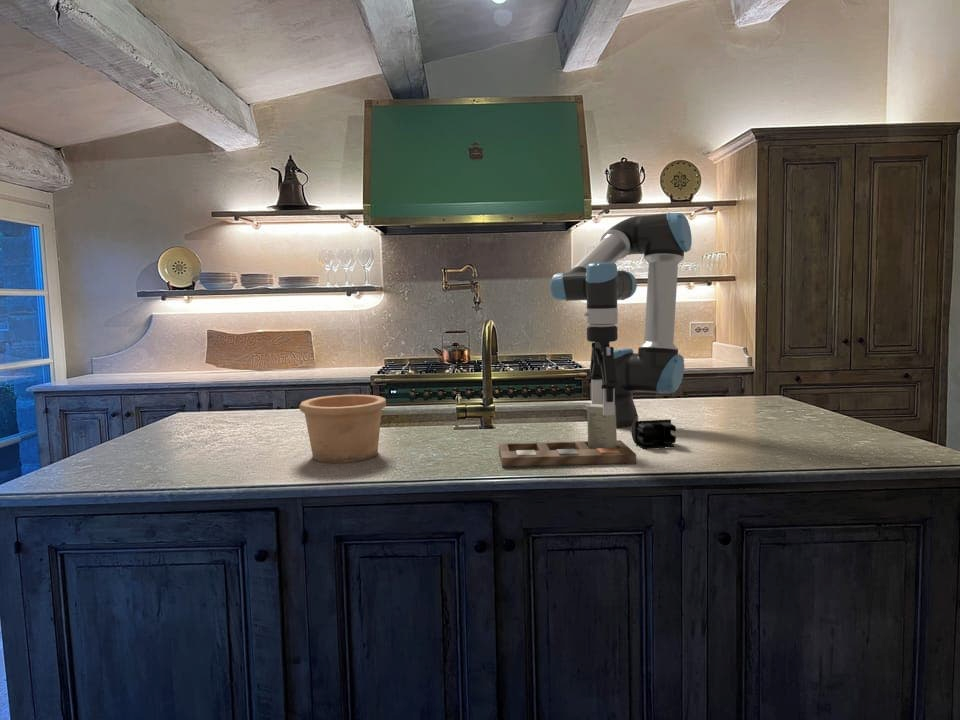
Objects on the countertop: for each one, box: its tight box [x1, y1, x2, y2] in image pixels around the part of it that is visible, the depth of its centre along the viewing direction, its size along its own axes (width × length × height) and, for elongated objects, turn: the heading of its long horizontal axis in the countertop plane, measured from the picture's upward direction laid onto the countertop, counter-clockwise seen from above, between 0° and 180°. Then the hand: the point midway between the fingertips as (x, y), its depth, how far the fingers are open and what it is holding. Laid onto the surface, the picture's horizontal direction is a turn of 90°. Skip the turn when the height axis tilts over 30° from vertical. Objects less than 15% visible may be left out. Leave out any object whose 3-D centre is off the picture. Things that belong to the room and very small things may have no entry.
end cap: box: [631, 419, 677, 450], centre depth 171 cm, size 10×7×7 cm
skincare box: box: [586, 403, 618, 449], centre depth 163 cm, size 6×4×12 cm
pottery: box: [299, 394, 387, 464], centre depth 167 cm, size 22×22×14 cm
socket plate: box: [498, 439, 637, 469], centre depth 160 cm, size 32×15×3 cm, turn 92°
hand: (602, 409), depth 162 cm, fingers open, 13 cm apart
